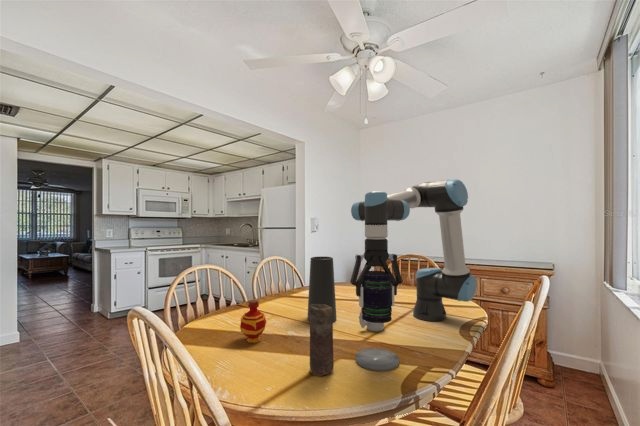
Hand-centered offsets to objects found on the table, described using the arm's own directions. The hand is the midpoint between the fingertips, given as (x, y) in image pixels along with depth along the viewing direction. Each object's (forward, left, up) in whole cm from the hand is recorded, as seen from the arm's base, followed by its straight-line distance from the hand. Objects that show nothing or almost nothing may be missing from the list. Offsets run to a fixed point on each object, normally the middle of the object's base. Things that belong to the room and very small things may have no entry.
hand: (376, 305), depth 102 cm
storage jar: (0, 0, -4) cm, 4 cm away
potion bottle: (+42, -24, -18) cm, 52 cm away
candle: (+19, +4, -18) cm, 27 cm away
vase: (+12, -45, -18) cm, 50 cm away
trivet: (0, 0, -18) cm, 18 cm away
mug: (-7, -29, -18) cm, 35 cm away
